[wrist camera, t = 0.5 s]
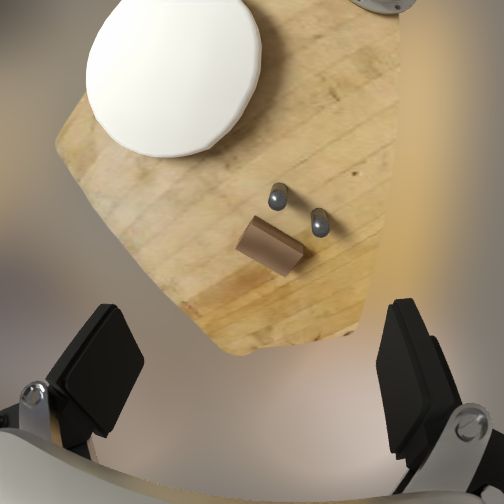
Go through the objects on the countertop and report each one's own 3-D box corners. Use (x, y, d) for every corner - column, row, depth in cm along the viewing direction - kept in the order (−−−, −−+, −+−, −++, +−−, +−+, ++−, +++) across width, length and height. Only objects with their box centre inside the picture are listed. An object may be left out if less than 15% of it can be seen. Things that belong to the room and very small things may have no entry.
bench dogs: (276, 179, 41) (274, 190, 37) (329, 213, 42) (332, 227, 38) (268, 192, 42) (264, 204, 38) (320, 225, 44) (322, 240, 39)
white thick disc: (226, 184, 38) (73, 145, 38) (237, 167, 43) (96, 133, 43) (284, -20, 21) (95, -22, 20) (288, -7, 26) (120, -16, 26)
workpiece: (255, 214, 45) (251, 224, 42) (303, 243, 46) (303, 254, 43) (239, 238, 47) (235, 249, 44) (286, 265, 49) (285, 277, 46)
